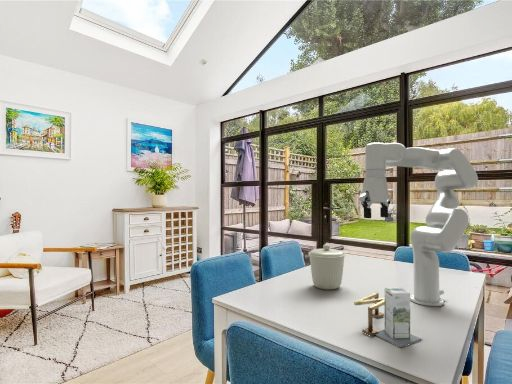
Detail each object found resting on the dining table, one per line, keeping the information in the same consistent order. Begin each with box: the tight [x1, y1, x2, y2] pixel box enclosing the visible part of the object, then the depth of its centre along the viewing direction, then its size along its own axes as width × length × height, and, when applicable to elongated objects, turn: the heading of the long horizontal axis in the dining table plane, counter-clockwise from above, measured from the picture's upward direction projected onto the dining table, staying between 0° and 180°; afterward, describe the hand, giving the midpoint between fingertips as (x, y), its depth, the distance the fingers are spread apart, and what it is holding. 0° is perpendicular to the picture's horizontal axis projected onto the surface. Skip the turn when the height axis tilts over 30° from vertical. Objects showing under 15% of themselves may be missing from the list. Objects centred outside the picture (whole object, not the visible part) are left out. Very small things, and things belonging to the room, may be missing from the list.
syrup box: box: [384, 287, 411, 339], centre depth 98 cm, size 6×6×14 cm
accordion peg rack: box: [353, 291, 385, 337], centre depth 108 cm, size 18×13×8 cm
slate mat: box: [375, 328, 422, 348], centre depth 97 cm, size 10×10×1 cm
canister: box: [307, 243, 347, 291], centre depth 152 cm, size 18×18×21 cm
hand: (376, 217), depth 121 cm, fingers open, 9 cm apart
